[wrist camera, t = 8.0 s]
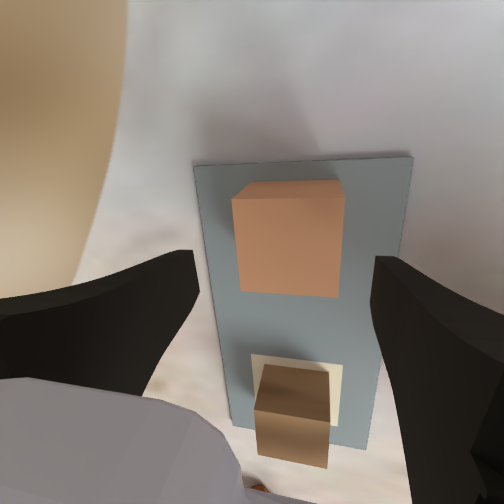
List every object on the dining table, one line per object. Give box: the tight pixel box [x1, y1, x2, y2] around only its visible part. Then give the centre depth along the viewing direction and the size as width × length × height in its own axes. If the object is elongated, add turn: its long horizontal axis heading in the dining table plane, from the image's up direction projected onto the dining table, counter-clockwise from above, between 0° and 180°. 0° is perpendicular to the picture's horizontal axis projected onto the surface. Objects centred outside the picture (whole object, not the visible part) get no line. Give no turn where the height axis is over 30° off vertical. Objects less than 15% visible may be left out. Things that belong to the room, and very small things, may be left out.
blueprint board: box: [193, 156, 414, 450], centre depth 20 cm, size 24×12×1 cm, turn 4°
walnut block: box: [254, 364, 330, 469], centre depth 21 cm, size 5×5×4 cm
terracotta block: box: [231, 180, 345, 298], centre depth 15 cm, size 5×5×4 cm
